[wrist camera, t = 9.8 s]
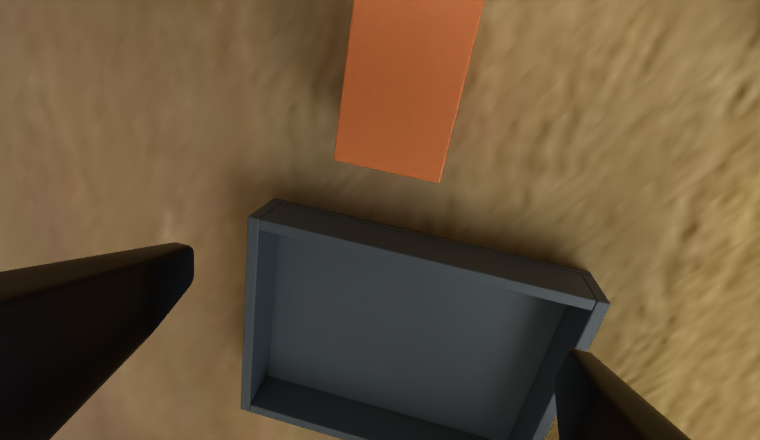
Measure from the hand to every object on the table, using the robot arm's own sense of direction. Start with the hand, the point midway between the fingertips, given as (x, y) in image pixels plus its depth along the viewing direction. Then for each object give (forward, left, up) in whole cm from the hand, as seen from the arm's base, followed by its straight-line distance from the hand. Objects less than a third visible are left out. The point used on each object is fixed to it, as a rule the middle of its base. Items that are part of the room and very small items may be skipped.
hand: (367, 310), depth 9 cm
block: (+1, -5, -12) cm, 13 cm away
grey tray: (-1, +9, -12) cm, 15 cm away
